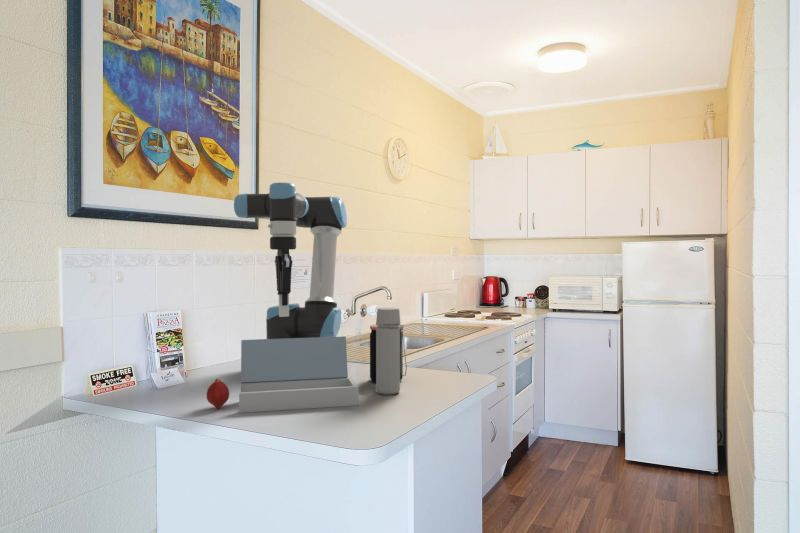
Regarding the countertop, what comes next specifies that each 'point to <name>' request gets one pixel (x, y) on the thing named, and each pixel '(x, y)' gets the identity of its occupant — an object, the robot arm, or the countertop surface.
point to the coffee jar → (373, 353)
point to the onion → (217, 393)
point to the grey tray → (298, 394)
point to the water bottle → (388, 351)
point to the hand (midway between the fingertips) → (284, 316)
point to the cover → (293, 359)
